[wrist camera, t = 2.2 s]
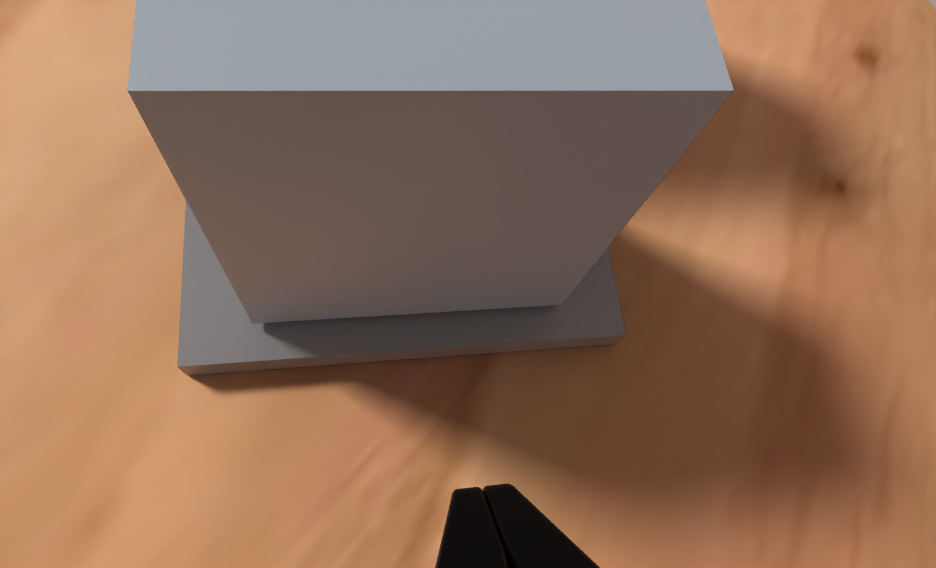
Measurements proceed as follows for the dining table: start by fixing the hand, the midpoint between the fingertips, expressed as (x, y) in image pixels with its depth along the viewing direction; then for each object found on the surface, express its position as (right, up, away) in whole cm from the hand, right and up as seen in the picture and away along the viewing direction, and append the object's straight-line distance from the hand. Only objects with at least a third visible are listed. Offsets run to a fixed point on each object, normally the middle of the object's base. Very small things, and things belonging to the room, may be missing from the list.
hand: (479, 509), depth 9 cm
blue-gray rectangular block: (-2, +5, +10) cm, 12 cm away
